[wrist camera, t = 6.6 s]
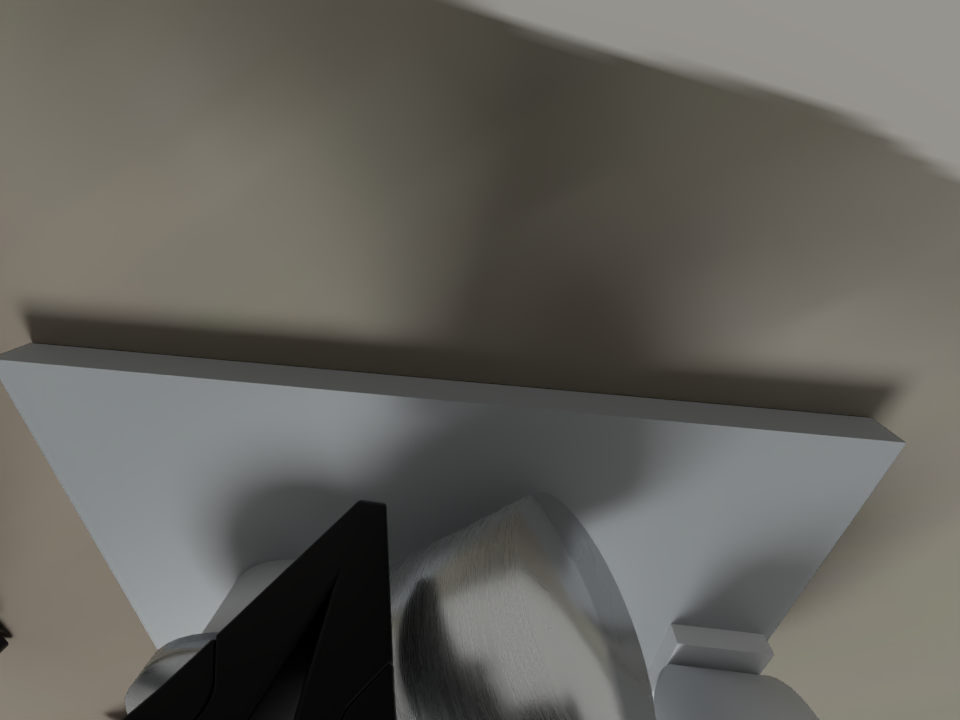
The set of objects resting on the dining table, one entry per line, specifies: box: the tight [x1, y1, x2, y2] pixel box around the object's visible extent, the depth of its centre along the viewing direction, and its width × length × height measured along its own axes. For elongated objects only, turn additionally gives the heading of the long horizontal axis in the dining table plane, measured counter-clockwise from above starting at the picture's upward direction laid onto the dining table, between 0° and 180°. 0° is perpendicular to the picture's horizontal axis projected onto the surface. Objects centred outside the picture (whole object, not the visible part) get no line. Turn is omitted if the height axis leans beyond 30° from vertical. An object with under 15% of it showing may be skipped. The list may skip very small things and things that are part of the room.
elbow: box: [125, 492, 656, 720], centre depth 11 cm, size 15×8×5 cm, turn 128°
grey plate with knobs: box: [0, 343, 906, 720], centre depth 12 cm, size 23×18×6 cm
